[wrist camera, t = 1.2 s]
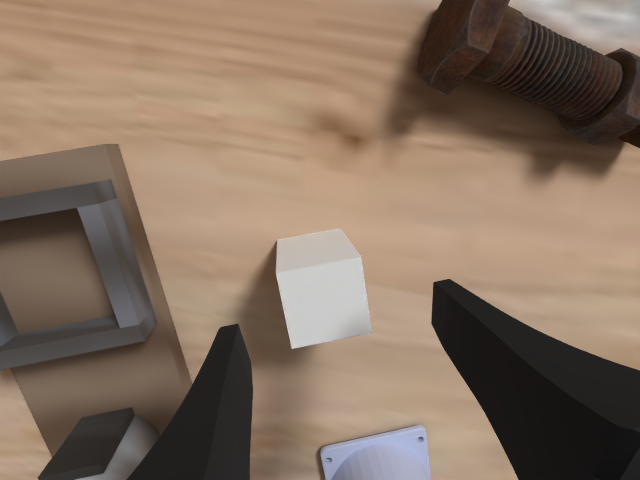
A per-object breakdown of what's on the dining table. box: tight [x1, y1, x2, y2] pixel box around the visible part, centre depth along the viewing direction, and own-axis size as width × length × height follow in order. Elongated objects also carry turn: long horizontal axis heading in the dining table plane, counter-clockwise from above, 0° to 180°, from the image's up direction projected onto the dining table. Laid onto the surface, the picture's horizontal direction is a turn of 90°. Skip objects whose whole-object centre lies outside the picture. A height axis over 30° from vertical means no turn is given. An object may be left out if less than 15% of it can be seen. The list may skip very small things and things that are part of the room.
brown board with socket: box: [0, 144, 192, 480], centre depth 19 cm, size 22×9×6 cm, turn 9°
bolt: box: [418, 0, 640, 148], centre depth 19 cm, size 6×5×15 cm
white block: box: [276, 228, 372, 349], centre depth 20 cm, size 4×4×6 cm
